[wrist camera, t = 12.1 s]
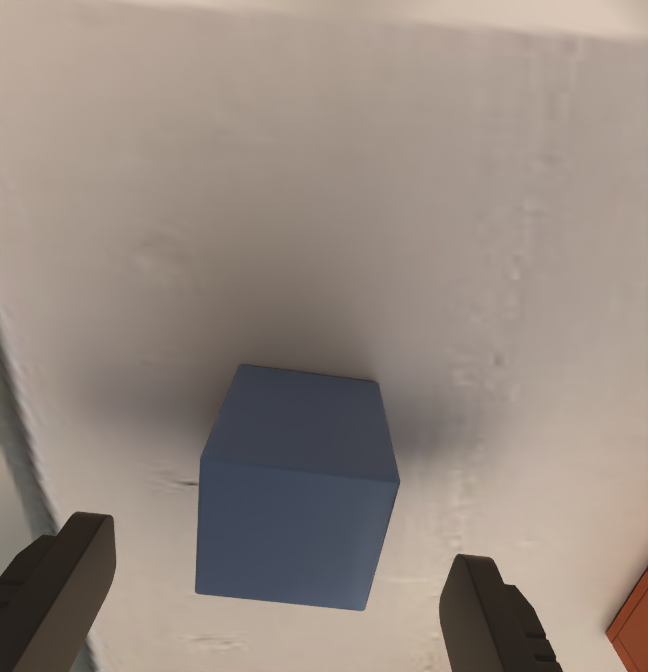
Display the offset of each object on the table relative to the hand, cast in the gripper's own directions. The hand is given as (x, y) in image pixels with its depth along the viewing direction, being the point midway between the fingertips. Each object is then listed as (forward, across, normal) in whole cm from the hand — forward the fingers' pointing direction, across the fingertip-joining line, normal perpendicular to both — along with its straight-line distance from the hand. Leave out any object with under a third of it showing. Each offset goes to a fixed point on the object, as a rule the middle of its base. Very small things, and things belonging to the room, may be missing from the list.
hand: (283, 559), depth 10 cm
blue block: (+5, 0, 0) cm, 5 cm away
